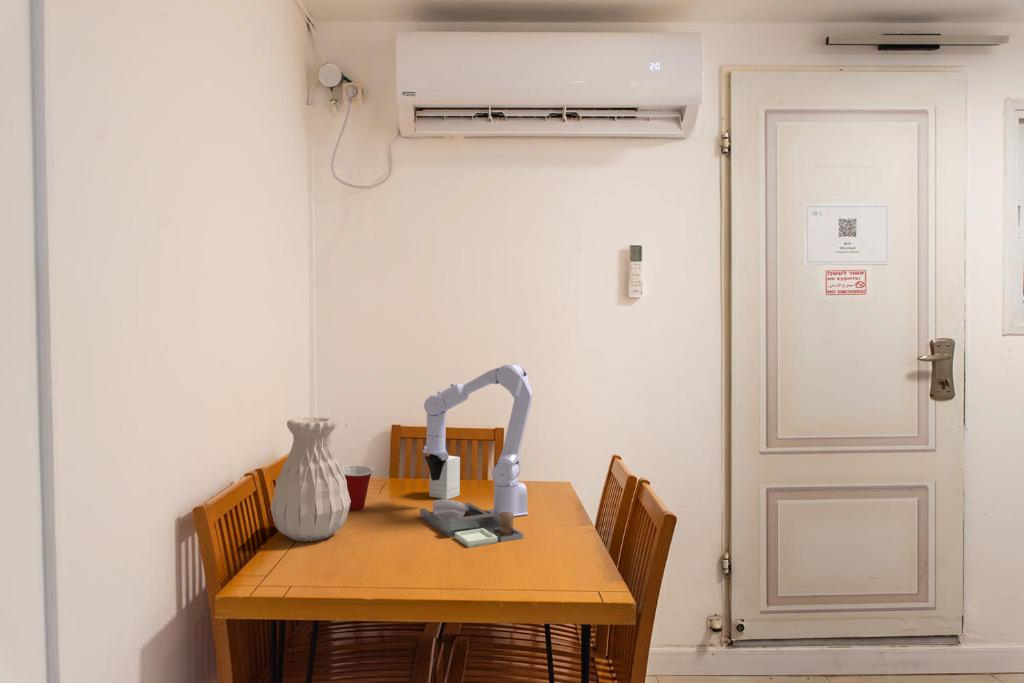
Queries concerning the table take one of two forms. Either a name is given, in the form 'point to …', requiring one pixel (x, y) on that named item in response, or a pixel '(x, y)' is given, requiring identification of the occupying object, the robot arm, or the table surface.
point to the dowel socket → (513, 536)
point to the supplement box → (447, 480)
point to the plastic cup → (357, 484)
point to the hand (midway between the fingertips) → (435, 479)
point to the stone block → (448, 509)
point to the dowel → (506, 523)
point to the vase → (310, 484)
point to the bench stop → (463, 521)
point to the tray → (476, 537)
